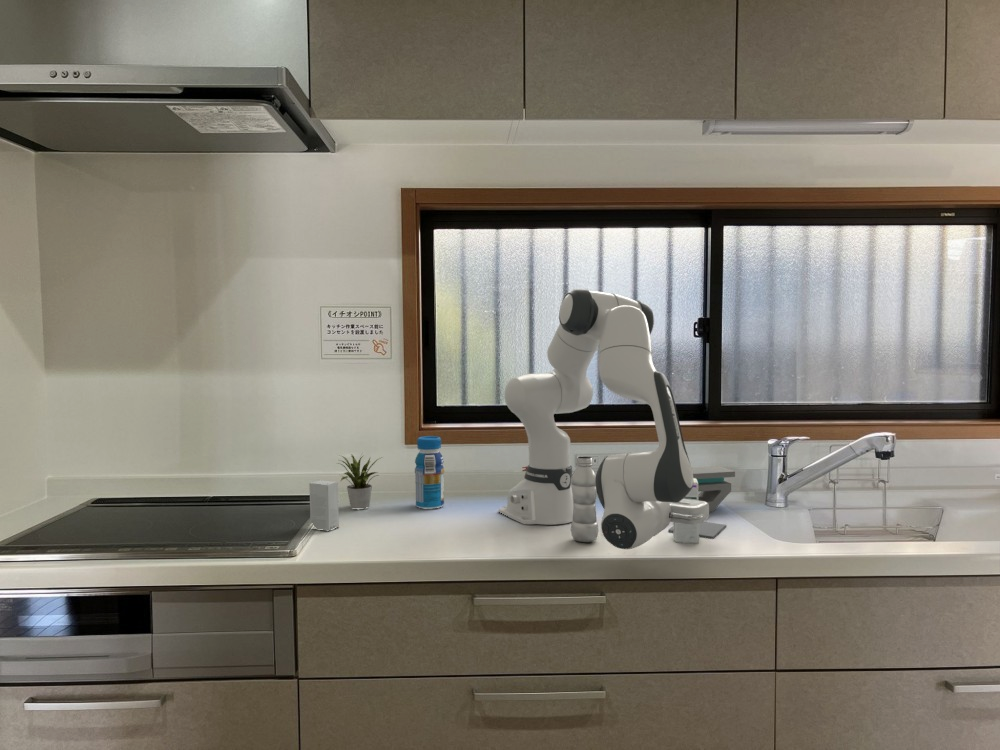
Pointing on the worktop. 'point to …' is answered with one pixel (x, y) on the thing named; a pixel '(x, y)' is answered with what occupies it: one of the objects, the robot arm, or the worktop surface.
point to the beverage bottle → (429, 473)
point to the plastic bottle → (584, 501)
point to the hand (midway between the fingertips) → (670, 499)
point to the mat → (708, 529)
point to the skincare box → (324, 504)
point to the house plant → (358, 483)
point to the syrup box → (687, 531)
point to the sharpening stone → (713, 484)
